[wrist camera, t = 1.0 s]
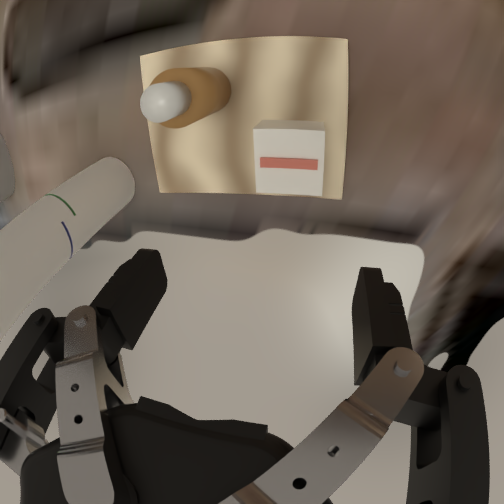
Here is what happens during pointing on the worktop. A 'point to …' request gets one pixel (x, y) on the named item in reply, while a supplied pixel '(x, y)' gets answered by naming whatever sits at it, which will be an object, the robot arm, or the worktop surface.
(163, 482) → the robot arm
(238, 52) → the board
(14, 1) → the worktop surface
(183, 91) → the bottle
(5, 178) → the lumpy-topped squat cylinder
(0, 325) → the cylindrical container
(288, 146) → the white minus sign cube
